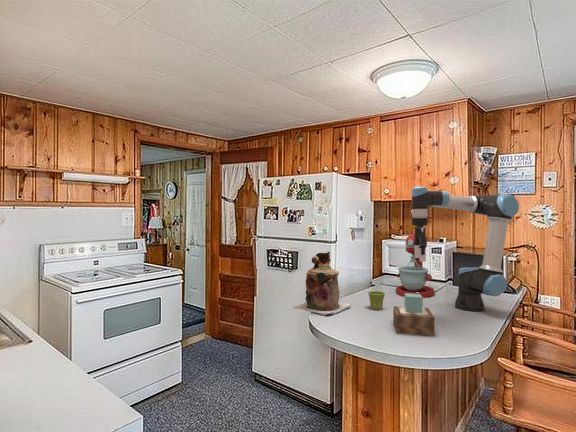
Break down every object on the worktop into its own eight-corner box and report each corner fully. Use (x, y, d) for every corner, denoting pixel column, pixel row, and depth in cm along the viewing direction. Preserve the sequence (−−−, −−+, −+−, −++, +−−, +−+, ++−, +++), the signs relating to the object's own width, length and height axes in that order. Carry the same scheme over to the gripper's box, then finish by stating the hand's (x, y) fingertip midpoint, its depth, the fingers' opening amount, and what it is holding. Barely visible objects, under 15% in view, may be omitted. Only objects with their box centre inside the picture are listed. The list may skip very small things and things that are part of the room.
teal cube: (419, 308, 174) (420, 294, 174) (422, 312, 167) (422, 297, 167) (404, 308, 175) (404, 293, 175) (406, 311, 168) (406, 296, 168)
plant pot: (385, 311, 202) (385, 295, 202) (367, 309, 204) (368, 294, 204) (384, 306, 211) (384, 291, 211) (367, 305, 213) (367, 290, 213)
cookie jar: (316, 301, 223) (317, 248, 223) (352, 308, 208) (353, 251, 207) (291, 309, 204) (291, 251, 204) (329, 317, 189) (329, 254, 188)
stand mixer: (390, 295, 241) (390, 233, 240) (403, 287, 267) (404, 231, 267) (428, 300, 228) (429, 235, 227) (438, 291, 254) (439, 233, 254)
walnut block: (427, 324, 177) (428, 307, 177) (434, 335, 162) (434, 316, 162) (393, 322, 181) (393, 305, 180) (396, 332, 165) (396, 313, 165)
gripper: (408, 217, 200) (408, 256, 200) (416, 218, 175) (416, 263, 175) (422, 216, 198) (422, 256, 199) (433, 218, 174) (433, 263, 174)
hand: (419, 259), depth 187 cm, fingers open, 13 cm apart
